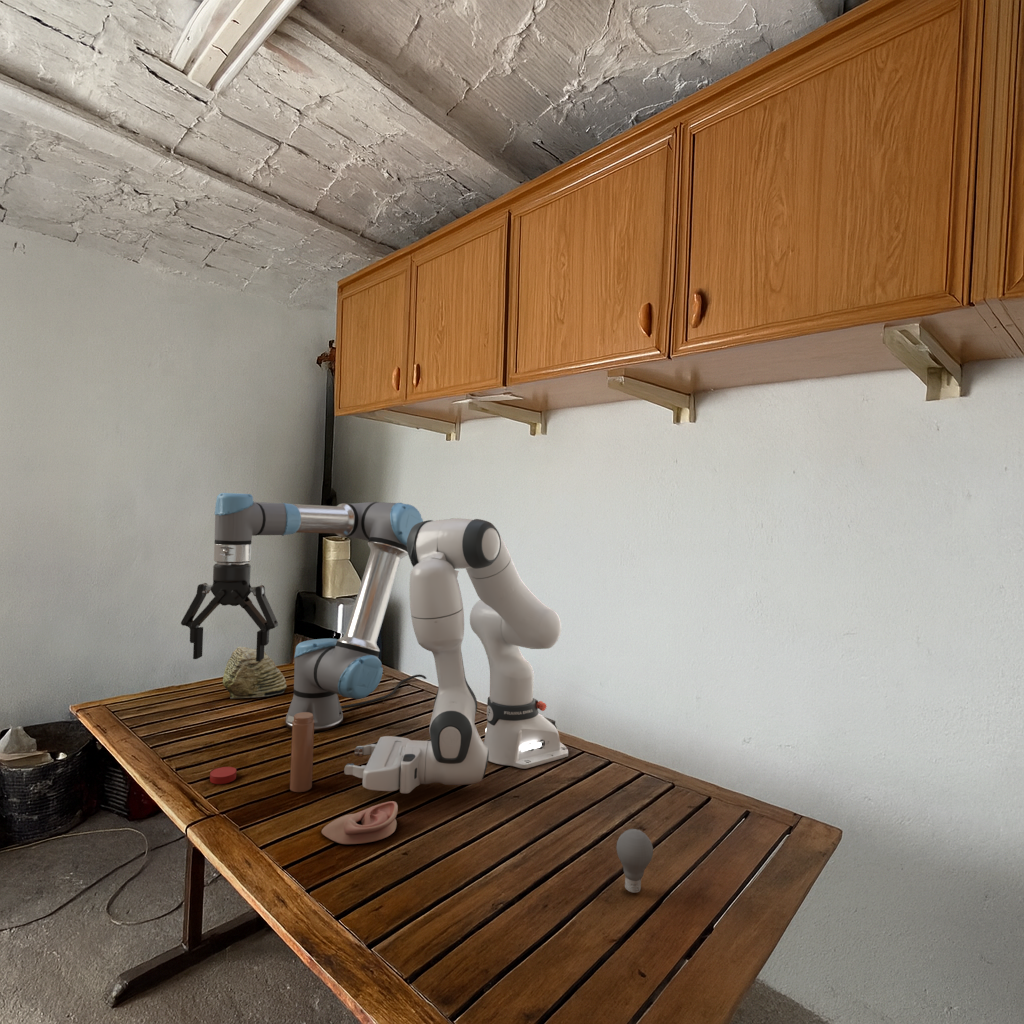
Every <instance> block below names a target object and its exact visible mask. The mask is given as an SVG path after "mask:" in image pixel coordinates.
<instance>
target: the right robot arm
mask: <svg viewBox="0 0 1024 1024" xmlns="http://www.w3.org/2000/svg"><path fill="white" fill-rule="evenodd" d="M407 551H408V555H407V556H408V559H409V560H410V563H411V566H412V569H411V571H410V575H409V588H408V589H409V590H408V591H409V593H408V594H409V609H410V616H411V617H410V618H411V624H412V628H413V632H414V635H415V638H416V641H417V643H418V645H419V647H420V646H421V648H423V649H424V650H426V651H429V652H431V654H432V655H433V658H434V659H433V660H434V665H435V672H436V677H437V683H438V687H437V691H436V694H435V697H434V702H433V709H432V713H431V718H430V722H429V729H428V730H429V737H430V740H418V739H417V740H415V739H414V740H413V739H410V738H407V737H402V736H391V735H384V736H380V737H379V739H378V741H377V743H371V744H366V745H357V746H356V747H355V748H354V752H353V753H354V757H363V756H368V755H370V757H369V759H368V761H367V763H366V765H361V766H360V765H356V764H355V763H350V762H349V763H348V762H347V763H346V764H345V766H344V768H343V769H344V770H343V772H344V773H343V774H344V775H347V776H348V775H349V776H354V777H356V778H358V779H362V788H365V789H366V790H370V791H378V792H395V791H398V790H399V794H400V793H401V794H410V793H411V792H412V791H413V790H414V789H415V788H416V787H419V786H420V785H430V784H433V783H438V784H442V785H446V786H465V785H473V784H477V783H480V782H481V781H482V780H483V779H484V777H485V776H486V772H487V768H488V765H489V763H488V762H490V763H493V764H495V765H496V764H497V765H501V766H508V767H509V766H510V767H515V768H518V769H522V770H526V769H530V768H534V767H537V766H541V765H544V764H547V763H551V762H554V761H557V760H561V759H564V758H567V757H569V749H568V747H566V745H565V744H563V742H561V740H560V734H559V730H558V726H557V725H556V720H555V719H551V718H548V717H547V716H544V715H542V714H541V713H539V710H540V712H543V711H546V709H547V707H548V706H547V704H546V702H543V701H542V700H540V701H539V700H538V699H536V698H534V685H535V683H534V682H535V672H534V668H533V666H532V664H531V663H530V662H529V661H528V660H527V659H526V657H524V655H523V653H522V651H521V649H520V648H525V649H528V650H546V649H551V648H553V647H554V645H556V643H557V642H558V641H559V639H560V636H561V634H562V620H561V618H560V616H559V614H558V613H557V611H556V610H554V609H553V608H551V607H549V606H548V605H546V604H545V603H543V602H542V601H541V600H540V598H538V597H537V596H536V595H535V594H534V593H533V592H532V590H530V589H529V587H528V586H527V585H526V584H525V582H524V581H523V580H522V577H521V576H520V573H519V572H518V569H517V567H516V565H515V562H514V560H513V557H512V556H511V553H510V551H509V549H508V547H507V544H506V543H505V541H504V539H503V537H502V535H500V532H499V530H498V529H497V527H496V526H495V525H494V524H493V523H491V521H488V520H485V519H480V518H475V519H472V518H471V519H470V518H460V517H459V518H458V517H457V518H455V517H453V518H446V519H437V520H433V519H431V520H430V519H428V520H423V522H420V523H418V524H416V525H414V526H413V527H412V529H411V531H410V533H409V535H408V538H407ZM461 569H462V570H463V569H465V571H466V573H467V575H468V577H469V579H470V581H471V584H472V586H473V587H474V590H475V592H476V596H477V597H478V598H479V600H477V601H476V602H475V603H474V605H473V606H472V608H471V610H470V613H469V624H470V628H471V630H472V632H473V633H474V634H475V635H476V636H477V638H478V639H479V641H480V642H481V644H482V646H483V649H484V651H485V655H486V658H487V662H488V669H489V696H488V697H487V704H486V721H487V723H486V728H485V735H484V740H482V738H481V736H480V734H479V731H478V728H477V725H476V724H475V723H476V715H477V711H478V700H477V696H476V695H475V693H474V691H473V690H472V688H471V686H470V685H469V684H468V681H467V678H466V673H465V666H464V661H463V660H464V659H463V653H462V645H463V640H464V635H465V612H464V611H465V609H464V603H463V597H462V592H461V588H460V583H459V580H458V576H459V572H460V571H459V570H461Z"/></svg>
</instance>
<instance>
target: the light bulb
mask: <svg viewBox="0 0 1024 1024" xmlns="http://www.w3.org/2000/svg"><path fill="white" fill-rule="evenodd" d="M615 849H616V854H617V857H618V859H619V861H620V863H621V865H622V867H623V873H624V874H623V875H624V876H625V878H624V888H625V890H627V891H628V892H630V893H634V894H635V893H639V892H640V891H641V889H642V887H641V886H642V879H643V877H644V875H645V871H646V868H647V867H648V866H649V864H650V863H651V861H652V859H653V855H654V847H653V843H652V841H651V838H649V836H648V835H647V834H646V833H645V832H643V831H642V830H641V829H636V828H629V829H627V830H625V831H623V832H622V833H621V834H620V835H619V837H618V839H617V841H616V847H615Z"/></svg>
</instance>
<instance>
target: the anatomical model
mask: <svg viewBox="0 0 1024 1024" xmlns="http://www.w3.org/2000/svg"><path fill="white" fill-rule="evenodd" d="M398 809H399V806H398V803H397V802H396V801H393V800H392V801H391V800H390V801H385V802H381V803H378V804H376V805H372V806H370V807H368V808H365V809H363V810H360V811H358V812H355V813H350V814H344V815H342V816H340V817H338V818H336V819H334V820H332V821H331V822H329V823H327V824H326V825H325V826H323V828H322V829H321V834H322V835H323V836H324V837H325V838H327V839H328V840H331V841H333V842H335V843H337V844H341V845H357V844H358V845H359V844H367V843H372V842H377V841H380V840H384V839H385V838H388V837H389V836H391V835H392V834H393V833H395V831H396V829H397V826H398V823H397V820H396V819H397V815H398V812H399V811H398Z"/></svg>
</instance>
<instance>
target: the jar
mask: <svg viewBox="0 0 1024 1024" xmlns="http://www.w3.org/2000/svg"><path fill="white" fill-rule="evenodd" d="M313 718H314V716H313V714H312V713H309V712H302V713H297V714H295V715H294V720H293V722H292V729H291V745H290V769H289V770H290V771H289V772H290V773H289V774H290V775H289V790H290V791H291V792H293V793H304V792H308V791H310V790H312V788H313V770H314V769H313V768H314V748H315V747H314V746H315V745H314V743H315V732H314V722H315V721H314V719H313Z"/></svg>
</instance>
